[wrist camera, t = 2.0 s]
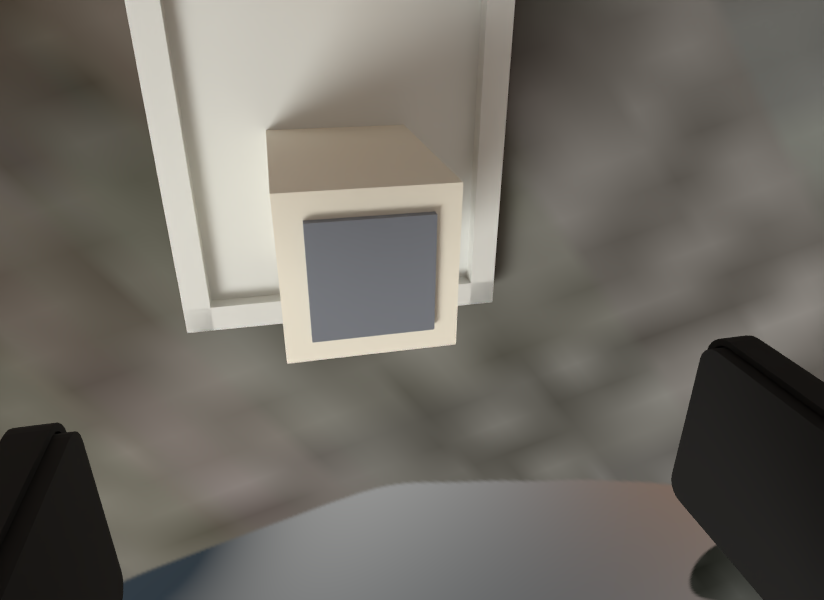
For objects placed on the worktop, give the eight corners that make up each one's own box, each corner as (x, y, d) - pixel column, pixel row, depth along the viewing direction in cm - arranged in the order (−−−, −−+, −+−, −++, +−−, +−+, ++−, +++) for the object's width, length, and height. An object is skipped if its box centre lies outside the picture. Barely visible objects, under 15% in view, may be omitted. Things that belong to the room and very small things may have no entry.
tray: (65, -366, 12) (50, -392, 12) (523, -315, 14) (540, -333, 14) (190, 317, 20) (187, 333, 19) (482, 289, 22) (492, 302, 21)
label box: (266, 130, 17) (269, 196, 12) (403, 124, 18) (465, 185, 13) (278, 260, 19) (287, 368, 14) (404, 249, 20) (458, 348, 15)
